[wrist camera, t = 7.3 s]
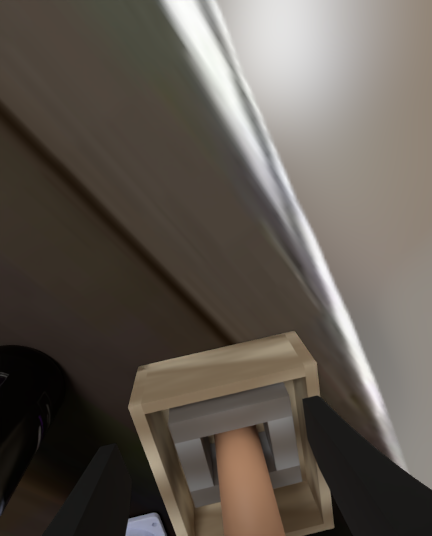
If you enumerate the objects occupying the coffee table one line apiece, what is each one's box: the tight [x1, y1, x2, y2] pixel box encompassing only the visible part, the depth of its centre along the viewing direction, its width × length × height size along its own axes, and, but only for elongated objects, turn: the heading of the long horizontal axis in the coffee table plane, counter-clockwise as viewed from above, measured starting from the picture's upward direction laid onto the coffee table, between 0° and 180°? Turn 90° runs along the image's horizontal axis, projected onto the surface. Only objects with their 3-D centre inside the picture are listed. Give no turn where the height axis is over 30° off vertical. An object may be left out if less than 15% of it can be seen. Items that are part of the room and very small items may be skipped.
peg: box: [214, 425, 285, 536], centre depth 19 cm, size 3×3×9 cm
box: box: [128, 331, 334, 536], centre depth 23 cm, size 16×12×4 cm
